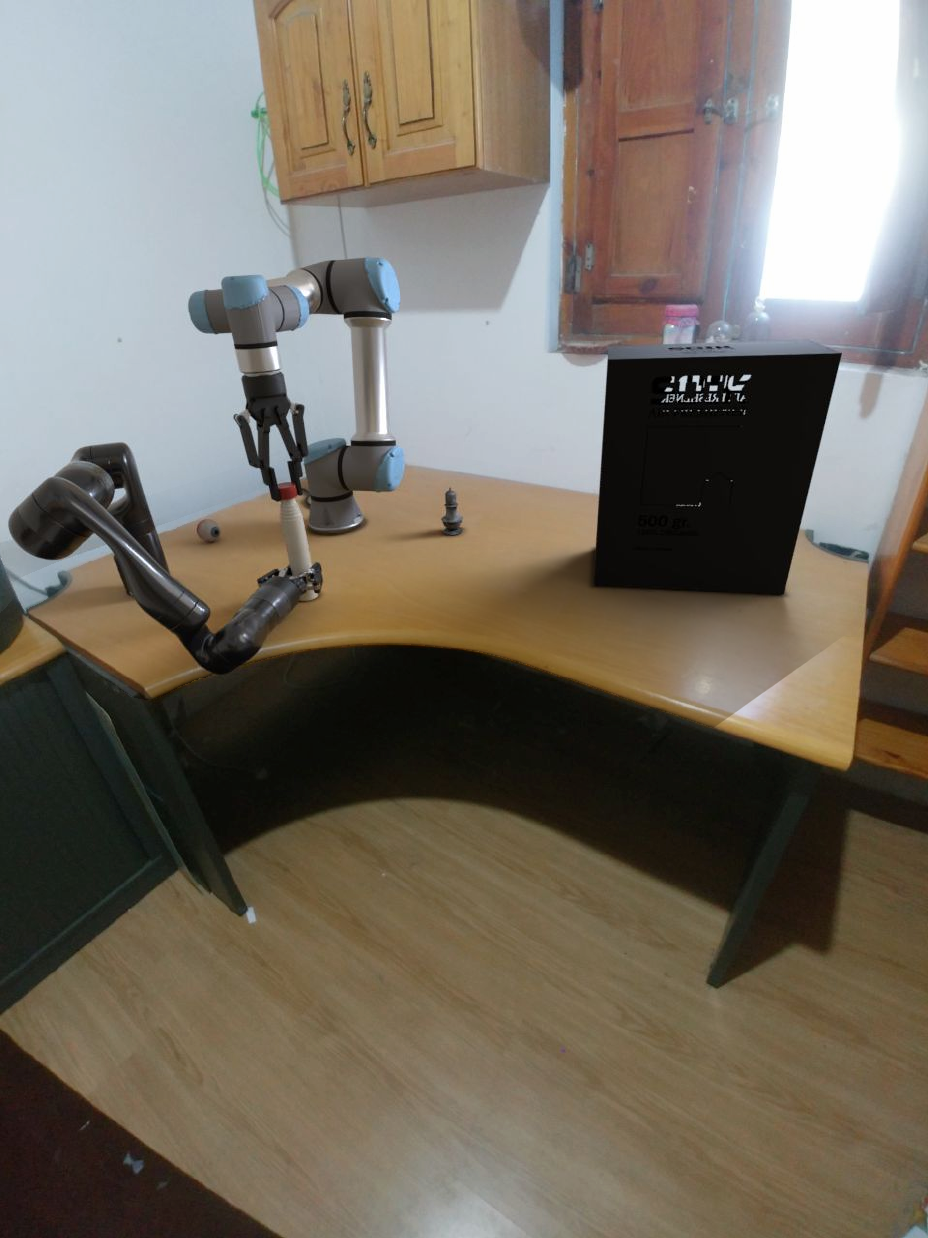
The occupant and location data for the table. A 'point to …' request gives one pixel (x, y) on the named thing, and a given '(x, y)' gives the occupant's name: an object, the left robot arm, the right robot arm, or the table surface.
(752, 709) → the table surface
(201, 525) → the eyeball
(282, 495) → the cap
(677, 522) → the cardboard box
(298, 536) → the bottle
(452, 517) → the salt shaker
